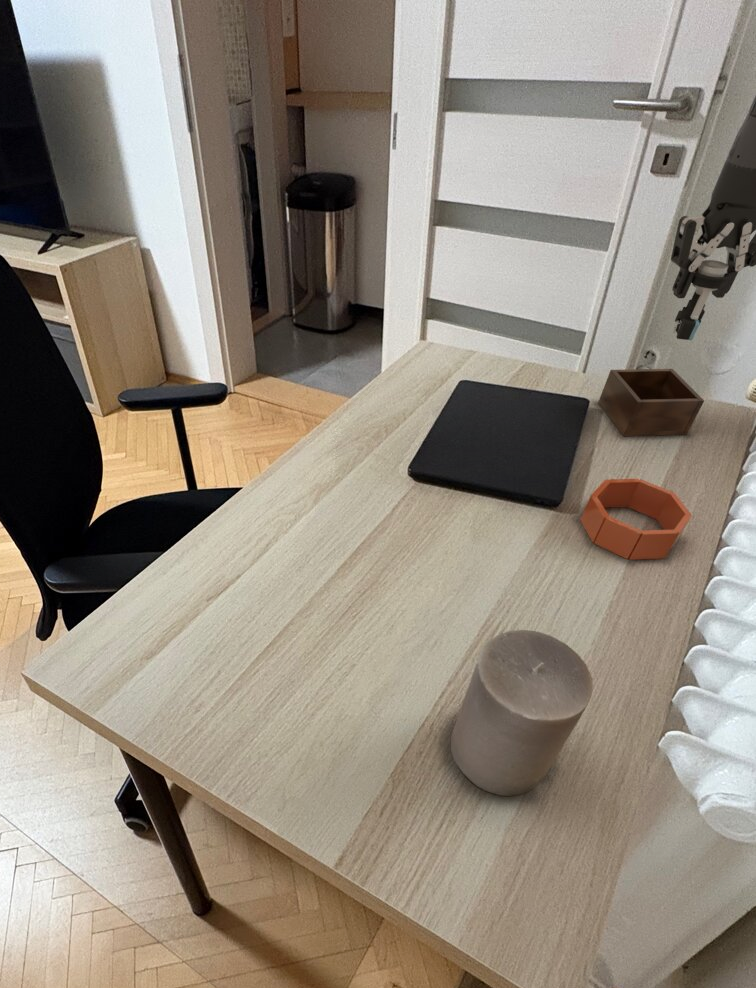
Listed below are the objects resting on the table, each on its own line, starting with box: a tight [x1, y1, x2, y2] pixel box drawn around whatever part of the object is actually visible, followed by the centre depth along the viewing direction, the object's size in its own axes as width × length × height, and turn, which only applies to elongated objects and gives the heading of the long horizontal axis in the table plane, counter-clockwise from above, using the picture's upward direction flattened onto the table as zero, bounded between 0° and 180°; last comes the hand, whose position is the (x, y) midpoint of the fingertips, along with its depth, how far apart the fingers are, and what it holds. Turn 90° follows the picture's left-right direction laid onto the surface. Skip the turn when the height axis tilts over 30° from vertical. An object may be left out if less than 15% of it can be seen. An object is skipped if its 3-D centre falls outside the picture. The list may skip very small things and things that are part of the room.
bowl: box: [580, 478, 693, 561], centre depth 85 cm, size 12×12×4 cm
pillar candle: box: [450, 629, 594, 797], centre depth 57 cm, size 10×10×15 cm
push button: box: [672, 259, 732, 341], centre depth 92 cm, size 7×5×10 cm
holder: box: [597, 368, 705, 437], centre depth 105 cm, size 11×11×6 cm
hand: (698, 295), depth 92 cm, fingers closed on push button, 5 cm apart
